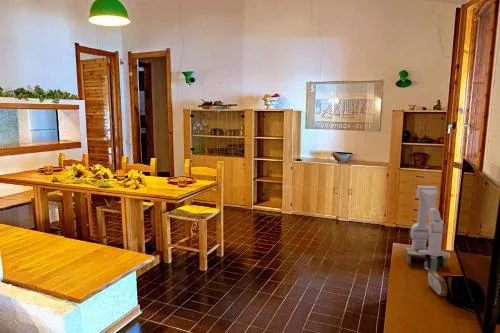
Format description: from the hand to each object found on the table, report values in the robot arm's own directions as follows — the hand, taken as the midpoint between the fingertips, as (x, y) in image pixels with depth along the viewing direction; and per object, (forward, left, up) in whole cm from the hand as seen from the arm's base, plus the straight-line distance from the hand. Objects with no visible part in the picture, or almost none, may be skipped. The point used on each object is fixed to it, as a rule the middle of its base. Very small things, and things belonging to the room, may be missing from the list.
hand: (432, 268), depth 192 cm
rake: (-5, 0, -4) cm, 6 cm away
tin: (+16, -2, -4) cm, 16 cm away
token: (-9, 0, -5) cm, 10 cm away
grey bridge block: (-17, 0, -4) cm, 17 cm away
